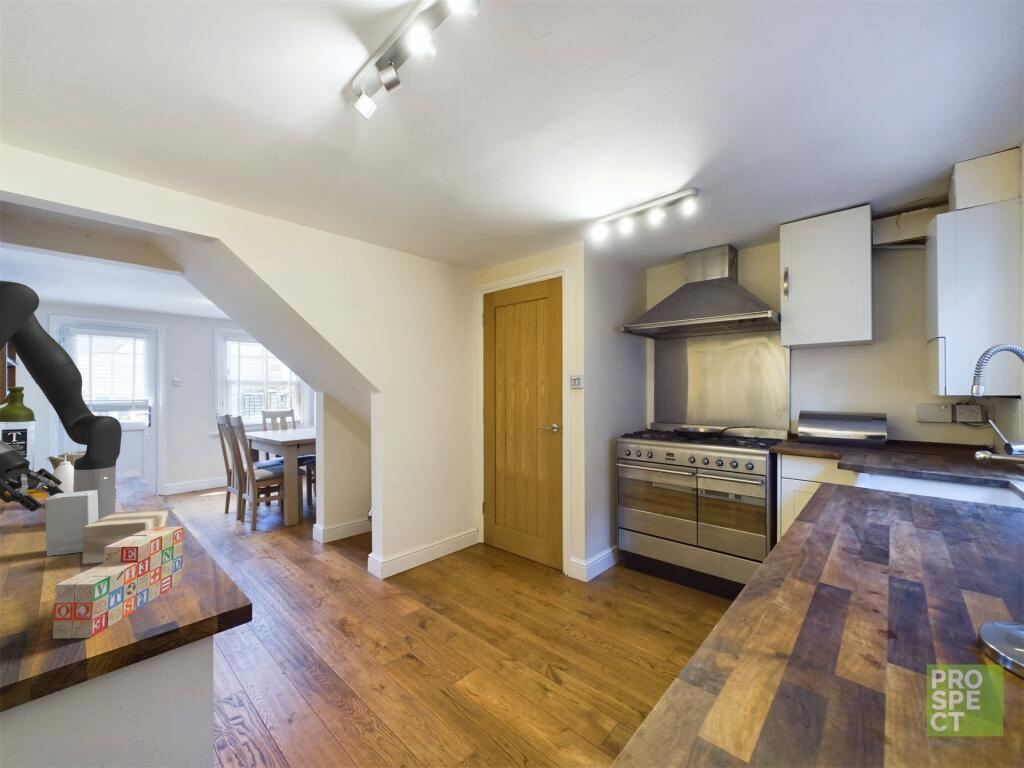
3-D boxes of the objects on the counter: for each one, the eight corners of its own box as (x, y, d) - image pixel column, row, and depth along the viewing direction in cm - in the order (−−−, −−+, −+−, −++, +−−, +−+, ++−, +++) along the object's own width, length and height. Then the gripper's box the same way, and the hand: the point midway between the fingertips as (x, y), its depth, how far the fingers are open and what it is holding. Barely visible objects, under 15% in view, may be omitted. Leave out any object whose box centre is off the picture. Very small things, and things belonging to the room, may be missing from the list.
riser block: (113, 546, 110) (114, 512, 111) (167, 542, 114) (168, 509, 114) (82, 564, 99) (83, 526, 99) (143, 559, 103) (145, 522, 103)
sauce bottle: (55, 503, 148) (56, 453, 148) (84, 501, 151) (86, 452, 152) (41, 509, 141) (43, 456, 141) (72, 507, 144) (74, 455, 145)
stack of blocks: (91, 639, 70) (93, 566, 70) (51, 640, 70) (54, 566, 70) (182, 581, 91) (184, 525, 92) (152, 581, 91) (154, 525, 91)
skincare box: (99, 544, 111) (101, 489, 111) (88, 552, 106) (90, 494, 106) (56, 549, 108) (58, 491, 108) (42, 557, 102) (44, 497, 102)
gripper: (-18, 453, 97) (42, 500, 100) (34, 445, 111) (85, 487, 113) (-49, 477, 95) (12, 524, 98) (7, 466, 109) (60, 507, 112)
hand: (51, 504), depth 106 cm, fingers open, 8 cm apart
